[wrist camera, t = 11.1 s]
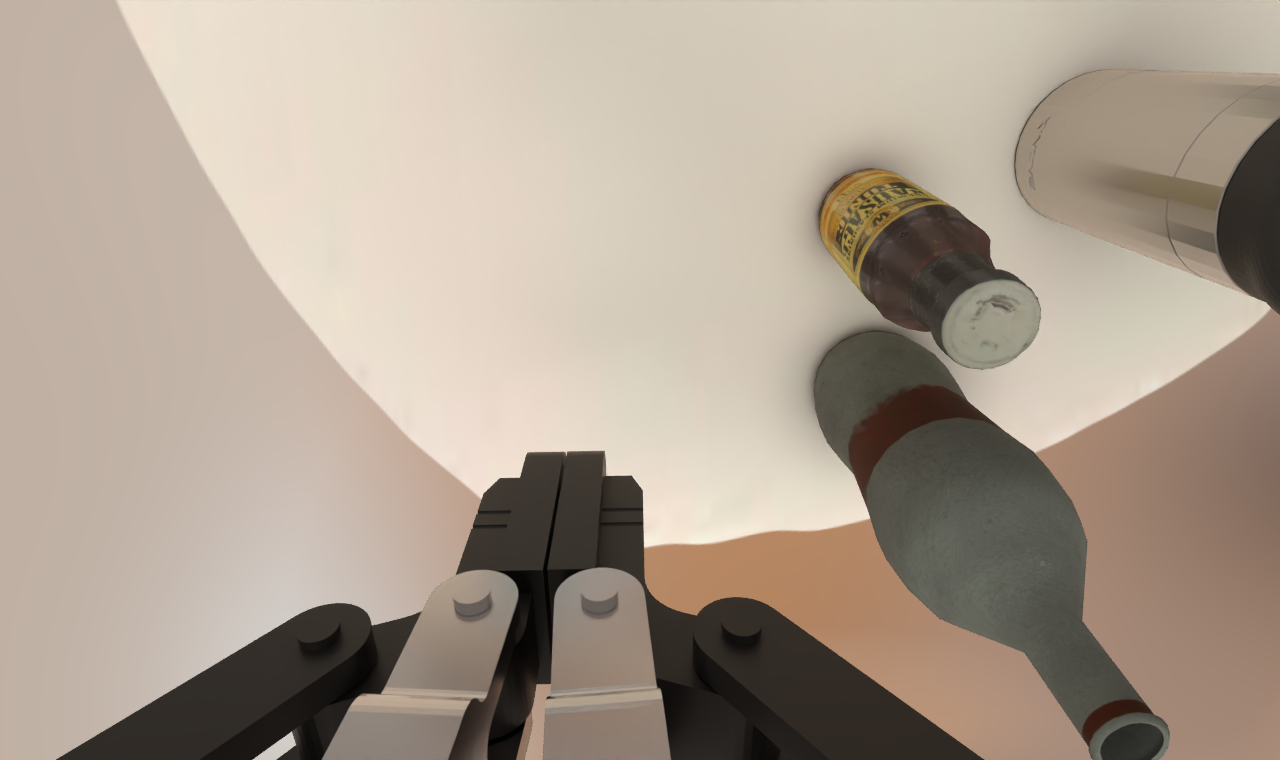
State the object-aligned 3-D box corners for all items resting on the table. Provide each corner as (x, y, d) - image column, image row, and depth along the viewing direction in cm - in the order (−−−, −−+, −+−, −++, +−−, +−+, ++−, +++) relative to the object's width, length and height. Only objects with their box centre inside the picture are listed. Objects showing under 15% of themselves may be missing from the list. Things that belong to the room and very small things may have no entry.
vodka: (791, 344, 50) (980, 684, 23) (921, 304, 49) (1280, 613, 22) (821, 453, 54) (1012, 858, 27) (941, 419, 53) (1271, 805, 26)
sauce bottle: (871, 144, 45) (1032, 202, 27) (928, 216, 47) (1115, 315, 29) (790, 217, 47) (889, 317, 29) (848, 283, 49) (975, 417, 30)
